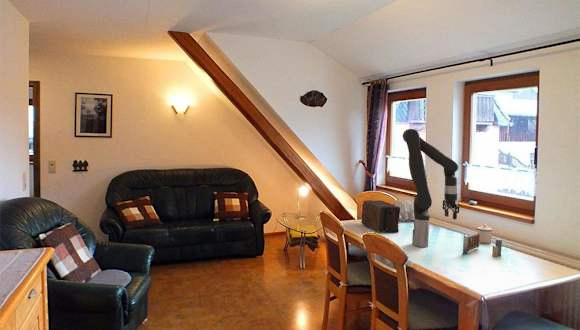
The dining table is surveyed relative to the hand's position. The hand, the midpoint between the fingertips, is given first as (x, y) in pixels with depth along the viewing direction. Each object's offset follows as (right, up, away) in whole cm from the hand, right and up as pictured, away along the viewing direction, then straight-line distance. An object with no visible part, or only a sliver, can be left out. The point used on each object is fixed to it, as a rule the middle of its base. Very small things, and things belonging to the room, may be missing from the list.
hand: (450, 217), depth 262 cm
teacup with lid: (+28, -18, +18) cm, 38 cm away
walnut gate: (+11, -19, -7) cm, 22 cm away
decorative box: (-35, -14, +47) cm, 60 cm away
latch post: (+22, -21, -15) cm, 33 cm away
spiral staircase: (-6, -12, +77) cm, 78 cm away
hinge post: (+3, -20, -13) cm, 24 cm away
